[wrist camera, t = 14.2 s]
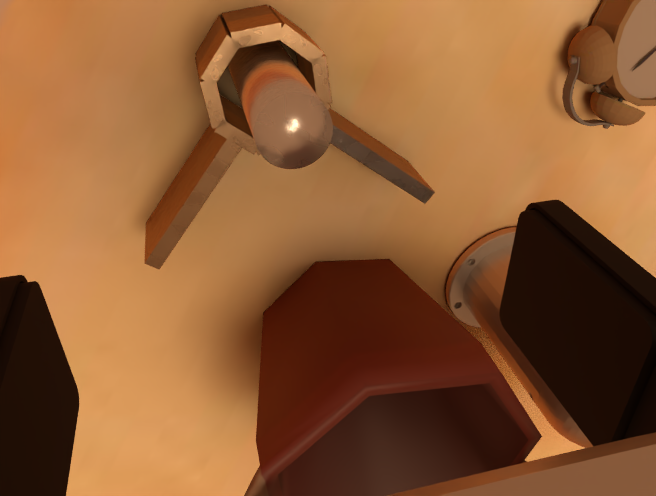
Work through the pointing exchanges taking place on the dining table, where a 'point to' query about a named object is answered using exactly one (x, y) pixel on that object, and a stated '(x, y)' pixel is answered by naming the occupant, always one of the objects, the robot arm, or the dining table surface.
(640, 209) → the dining table surface
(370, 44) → the dining table surface
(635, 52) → the alarm clock
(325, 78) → the hinge
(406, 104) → the dining table surface
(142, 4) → the dining table surface
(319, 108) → the hinge pin
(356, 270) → the bucket
